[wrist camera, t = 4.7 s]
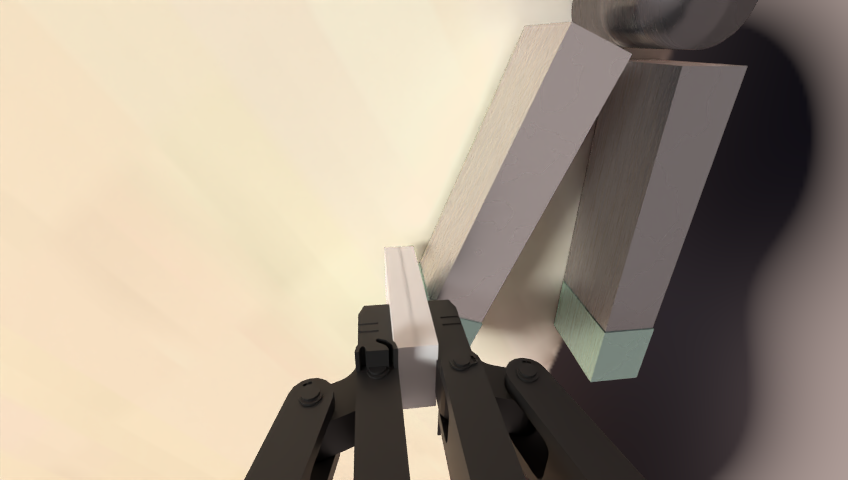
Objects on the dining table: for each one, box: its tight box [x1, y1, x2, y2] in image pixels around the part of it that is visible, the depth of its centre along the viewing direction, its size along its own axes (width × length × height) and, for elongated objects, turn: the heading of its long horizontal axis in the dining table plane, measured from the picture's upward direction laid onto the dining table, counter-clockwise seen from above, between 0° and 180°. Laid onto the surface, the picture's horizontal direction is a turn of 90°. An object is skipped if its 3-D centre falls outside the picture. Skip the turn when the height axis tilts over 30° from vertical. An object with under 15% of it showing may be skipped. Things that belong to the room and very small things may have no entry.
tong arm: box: [418, 22, 632, 345], centre depth 17 cm, size 15×2×4 cm, turn 158°
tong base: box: [554, 0, 758, 382], centre depth 17 cm, size 18×5×6 cm, turn 0°
